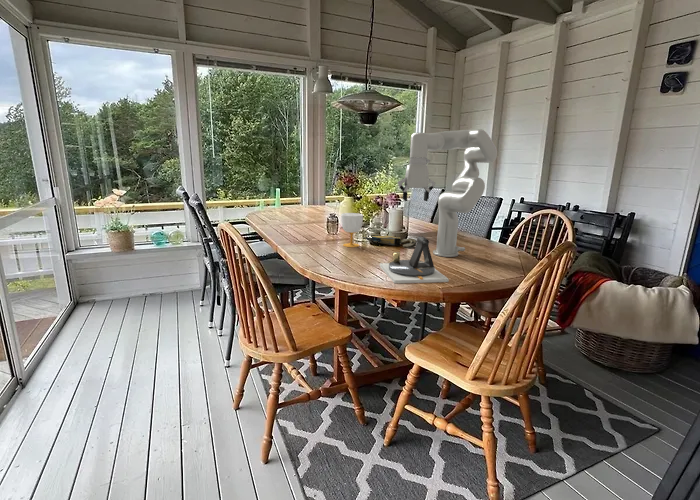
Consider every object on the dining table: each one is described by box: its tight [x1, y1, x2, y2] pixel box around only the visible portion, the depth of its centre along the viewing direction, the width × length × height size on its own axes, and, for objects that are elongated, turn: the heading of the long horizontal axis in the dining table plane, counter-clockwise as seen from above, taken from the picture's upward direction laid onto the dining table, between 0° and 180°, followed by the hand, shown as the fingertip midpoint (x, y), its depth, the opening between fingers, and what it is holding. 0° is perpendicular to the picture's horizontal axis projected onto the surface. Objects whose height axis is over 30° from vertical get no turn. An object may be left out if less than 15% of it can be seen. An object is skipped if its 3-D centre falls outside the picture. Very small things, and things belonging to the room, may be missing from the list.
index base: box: [379, 262, 450, 284], centre depth 160 cm, size 22×24×2 cm
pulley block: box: [362, 234, 417, 249], centre depth 213 cm, size 14×6×30 cm
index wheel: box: [389, 251, 436, 276], centre depth 160 cm, size 19×19×6 cm
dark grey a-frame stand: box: [409, 235, 435, 268], centre depth 159 cm, size 9×6×12 cm, turn 99°
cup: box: [340, 212, 364, 248], centre depth 206 cm, size 12×12×17 cm
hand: (415, 200), depth 172 cm, fingers open, 9 cm apart
